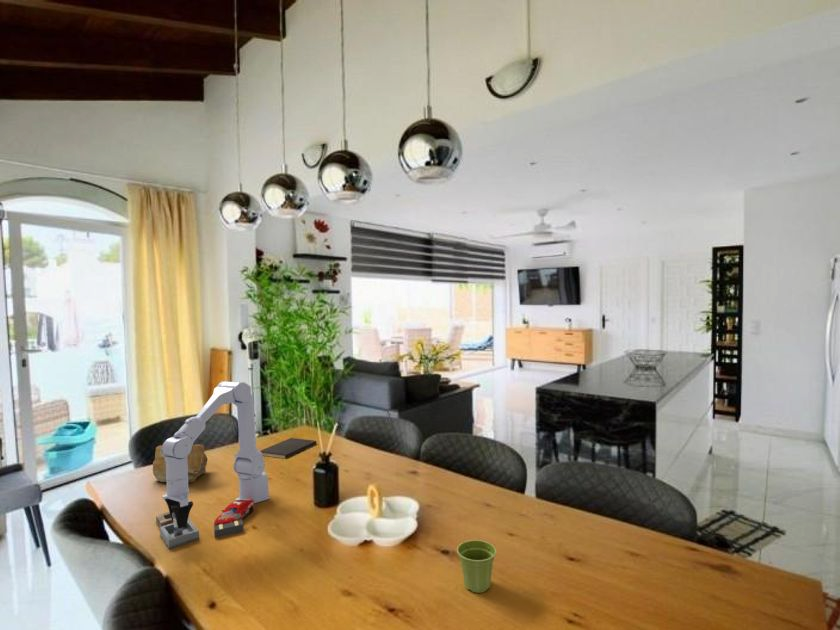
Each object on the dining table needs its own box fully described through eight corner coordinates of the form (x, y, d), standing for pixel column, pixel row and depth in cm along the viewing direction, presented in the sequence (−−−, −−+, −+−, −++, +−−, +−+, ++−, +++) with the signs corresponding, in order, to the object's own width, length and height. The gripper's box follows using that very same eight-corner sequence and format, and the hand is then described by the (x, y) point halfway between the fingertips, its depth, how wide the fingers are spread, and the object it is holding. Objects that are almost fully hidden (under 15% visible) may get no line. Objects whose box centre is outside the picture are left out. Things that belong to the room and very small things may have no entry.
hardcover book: (258, 456, 210) (258, 451, 210) (291, 442, 231) (291, 437, 231) (285, 460, 203) (285, 454, 203) (316, 445, 224) (316, 440, 224)
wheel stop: (242, 528, 140) (242, 519, 140) (243, 532, 137) (243, 523, 137) (214, 534, 136) (214, 525, 136) (214, 539, 134) (214, 530, 134)
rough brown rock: (225, 475, 187) (225, 438, 188) (194, 487, 171) (194, 447, 173) (182, 472, 194) (182, 437, 196) (148, 483, 179) (148, 445, 180)
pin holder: (179, 515, 149) (179, 508, 149) (185, 522, 144) (185, 515, 144) (156, 522, 145) (155, 515, 145) (161, 529, 139) (160, 523, 139)
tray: (188, 526, 141) (188, 518, 141) (199, 539, 133) (198, 530, 133) (160, 535, 136) (159, 527, 136) (169, 549, 128) (168, 540, 128)
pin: (182, 531, 137) (181, 508, 137) (185, 535, 135) (184, 512, 134) (171, 535, 135) (170, 512, 135) (174, 538, 132) (173, 515, 132)
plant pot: (454, 575, 112) (454, 540, 112) (491, 572, 113) (490, 538, 113) (461, 599, 103) (460, 562, 103) (501, 596, 103) (500, 559, 103)
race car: (229, 532, 137) (228, 517, 137) (209, 531, 138) (209, 515, 138) (258, 508, 153) (257, 494, 153) (240, 507, 154) (240, 493, 154)
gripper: (156, 474, 137) (158, 518, 137) (168, 488, 126) (170, 536, 126) (182, 468, 142) (183, 511, 142) (195, 481, 131) (196, 527, 131)
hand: (178, 522), depth 135 cm, fingers open, 7 cm apart
